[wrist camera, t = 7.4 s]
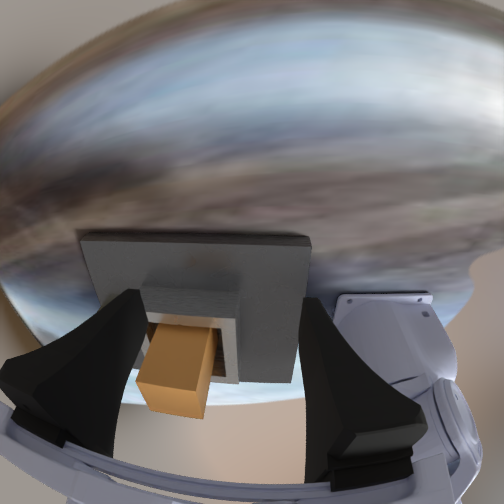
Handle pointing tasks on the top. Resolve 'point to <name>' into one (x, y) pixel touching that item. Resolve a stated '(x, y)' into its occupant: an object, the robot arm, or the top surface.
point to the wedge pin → (178, 369)
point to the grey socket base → (212, 292)
